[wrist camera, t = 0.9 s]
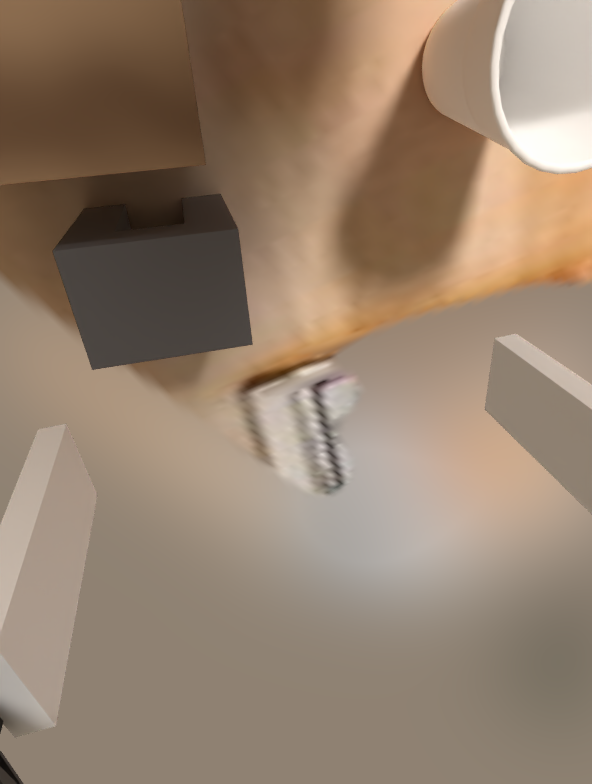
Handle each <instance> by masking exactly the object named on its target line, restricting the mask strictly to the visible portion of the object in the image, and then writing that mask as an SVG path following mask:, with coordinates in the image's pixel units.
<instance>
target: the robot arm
mask: <svg viewBox="0 0 592 784" xmlns="http://www.w3.org/2000/svg"><path fill="white" fill-rule="evenodd" d="M485 410H486V411H487V412H488V413H489V414H490V415H491V416H492V417H493V418H494V419H495V420H496V421H497V422H498V423H499V424H500V425H501V426H502V427H503V428H504V429H505V430H506V431H507V432H508V433H509V434H510V435H511V436H512V437H513V438H514V439H515V440H516V441H517V442H518V443H520V444H521V446H523V447H524V448H525V449H526V450H527V451H528V452H529V453H530V454H531V455H532V456H533V457H534V458H535V459H536V460H537V461H538V462H539V463H540V464H541V465H542V466H543V467H544V468H545V469H546V470H547V471H548V472H549V473H550V474H551V475H552V476H553V477H554V478H555V479H556V480H557V481H558V482H559V483H560V484H561V485H562V486H563V487H564V488H565V489H566V490H567V491H568V492H570V494H572V495H573V496H574V497H575V498H576V499H577V500H578V501H579V502H580V503H581V504H582V505H583V506H584V507H585V508H586V509H587V510H588V511H589V512H590V513H591V514H592V384H590V383H589V382H587V381H586V380H584V379H583V378H581V377H580V376H578V375H577V374H575V373H574V372H572V371H571V370H569V369H568V368H566V367H565V366H563V365H562V364H560V363H559V362H557V361H556V360H554V359H553V358H551V357H550V356H549V355H547V354H546V353H544V352H543V351H541V350H540V349H538V348H537V347H535V346H534V345H532V344H531V343H529V342H528V341H526V340H525V339H523V338H522V337H520V336H519V335H517V334H513V335H508V336H503V337H498V338H494V345H493V353H492V360H491V367H490V374H489V382H488V389H487V396H486V403H485ZM96 501H97V493H96V490H95V488H94V486H93V483H92V481H91V479H90V476H89V474H88V472H87V469H86V467H85V465H84V463H83V460H82V458H81V456H80V453H79V451H78V449H77V446H76V444H75V442H74V440H73V437H72V435H71V433H70V430H69V428H68V426H67V424H62V425H57V426H52V427H47V428H42V429H38V431H37V433H36V436H35V438H34V441H33V443H32V446H31V448H30V451H29V453H28V456H27V459H26V461H25V464H24V466H23V469H22V471H21V474H20V476H19V479H18V481H17V484H16V486H15V489H14V491H13V494H12V496H11V499H10V501H9V504H8V507H7V509H6V511H5V514H4V516H3V519H2V522H1V525H0V732H1V728H2V725H3V724H4V725H5V726H6V728H7V729H8V730H9V731H10V732H11V733H12V735H13V736H14V737H18V736H22V735H26V734H29V733H32V732H36V731H40V730H43V729H47V728H50V727H54V726H56V723H57V718H58V712H59V706H60V701H61V696H62V690H63V684H64V679H65V673H66V668H67V662H68V656H69V651H70V645H71V640H72V634H73V629H74V623H75V618H76V612H77V606H78V601H79V595H80V590H81V584H82V579H83V573H84V568H85V562H86V556H87V551H88V545H89V540H90V534H91V529H92V523H93V517H94V512H95V506H96ZM0 784H23V782H22V781H21V779H20V778H19V777H18V775H17V774H16V772H15V771H14V769H13V768H12V766H11V765H10V764H9V762H8V761H7V759H6V758H5V756H4V755H3V753H2V752H1V751H0Z"/></svg>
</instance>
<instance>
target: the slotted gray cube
mask: <svg viewBox="0 0 592 784" xmlns="http://www.w3.org/2000/svg"><path fill="white" fill-rule="evenodd" d="M182 206H183V215H184V224H176V225H167V226H159V227H150V228H141V229H133V230H131V227H130V223H129V219H128V214H127V210H126V206H125V205H115V206H106V207H97V208H88V209H84V210H83V211H82V212H81V214H80V215H79V216H78V218H77V219H76V220H75V222H74V223H73V224H72V226H71V227H70V228H69V230H68V231H67V232H66V234H65V235H64V236H63V238H62V239H61V241H60V242H59V243H58V245H57V246H56V247H55V249H54V250H53V254H54V257H55V260H56V263H57V266H58V269H59V272H60V275H61V278H62V281H63V284H64V287H65V290H66V293H67V296H68V299H69V302H70V305H71V308H72V311H73V314H74V317H75V320H76V323H77V326H78V329H79V332H80V335H81V338H82V341H83V344H84V346H85V349H86V352H87V355H88V358H89V361H90V364H91V367H92V369H93V370H94V369H100V368H106V367H113V366H119V365H126V364H132V363H139V362H145V361H151V360H158V359H164V358H170V357H177V356H183V355H189V354H196V353H202V352H208V351H215V350H221V349H227V348H234V347H240V346H246V345H253V344H252V336H251V328H250V320H249V312H248V304H247V296H246V288H245V280H244V272H243V264H242V256H241V248H240V240H239V233H238V228H237V226H236V224H235V222H234V220H233V218H232V216H231V214H230V212H229V210H228V208H227V206H226V204H225V202H224V200H223V198H222V196H221V194H216V195H207V196H198V197H189V198H182Z"/></svg>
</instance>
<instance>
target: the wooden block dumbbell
mask: <svg viewBox="0 0 592 784" xmlns="http://www.w3.org/2000/svg"><path fill="white" fill-rule="evenodd" d="M199 165H206V162H205V156H204V149H203V142H202V136H201V129H200V122H199V116H198V109H197V102H196V96H195V89H194V83H193V76H192V69H191V63H190V56H189V49H188V43H187V36H186V29H185V23H184V16H183V9H182V3H181V0H0V185H8V184H18V183H28V182H38V181H48V180H58V179H68V178H78V177H88V176H98V175H108V174H118V173H128V172H138V171H148V170H159V169H169V168H179V167H189V166H199Z"/></svg>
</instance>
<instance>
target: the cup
mask: <svg viewBox="0 0 592 784" xmlns="http://www.w3.org/2000/svg"><path fill="white" fill-rule="evenodd" d="M422 77H423V83H424V88H425V91H426V94H427V96H428V98H429V100H430V102H431V103H432V105H433V106H434V107H435V108H436V109H437V110H438V111H439V112H440V113H441V114H443V115H445V116H447V117H449V118H451V119H452V120H454V121H456V122H458V123H460V124H462V125H464V126H466V127H468V128H470V129H472V130H474V131H475V132H477V133H479V134H481V135H483V136H485V137H487V138H489V139H491V140H492V141H494V142H496V143H498V144H500V145H502V146H504V147H506V148H508V149H509V150H510V151H511V152H512V153H513V154H514V155H515V156H517V157H518V158H519V159H520V160H521V161H522V162H523V163H524V164H526V165H528V166H530V167H533V168H535V169H537V170H539V171H542V172H548V173H553V174H567V173H577V172H580V171H583V170H587V169H590V168H592V0H458V1H456V2H455V3H454V4H452V5H451V6H450V7H449V8H448V9H447V10H445V12H444V13H443V14H442V15H441V16H440V18H439V19H438V20H437V22H436V23H435V25H434V27H433V28H432V30H431V32H430V35H429V37H428V40H427V42H426V45H425V50H424V54H423V62H422Z"/></svg>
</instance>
